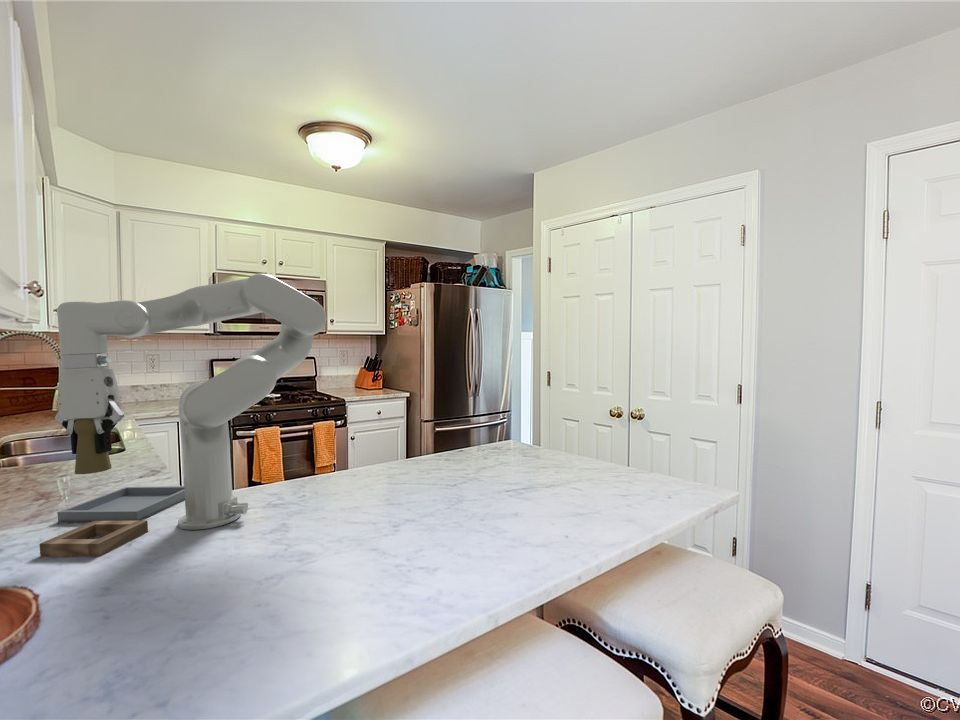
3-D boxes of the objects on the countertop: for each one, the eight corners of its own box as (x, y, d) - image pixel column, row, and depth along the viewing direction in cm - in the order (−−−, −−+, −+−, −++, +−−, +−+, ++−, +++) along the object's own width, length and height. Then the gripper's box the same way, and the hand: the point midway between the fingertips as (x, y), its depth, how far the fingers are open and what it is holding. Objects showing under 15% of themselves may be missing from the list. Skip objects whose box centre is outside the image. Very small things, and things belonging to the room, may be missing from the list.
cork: (91, 474, 98) (87, 419, 98) (66, 474, 100) (62, 419, 99) (119, 466, 104) (115, 414, 104) (95, 466, 106) (91, 414, 105)
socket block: (148, 531, 108) (147, 520, 108) (99, 556, 96) (98, 543, 96) (95, 531, 109) (94, 520, 109) (40, 556, 97) (39, 543, 97)
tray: (195, 495, 134) (194, 486, 134) (137, 522, 115) (137, 511, 114) (126, 495, 136) (125, 486, 136) (58, 522, 116) (57, 511, 116)
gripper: (138, 360, 104) (144, 447, 105) (64, 363, 106) (70, 449, 106) (108, 362, 97) (115, 455, 97) (29, 365, 98) (36, 457, 99)
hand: (92, 451), depth 102 cm, fingers closed on cork, 4 cm apart
